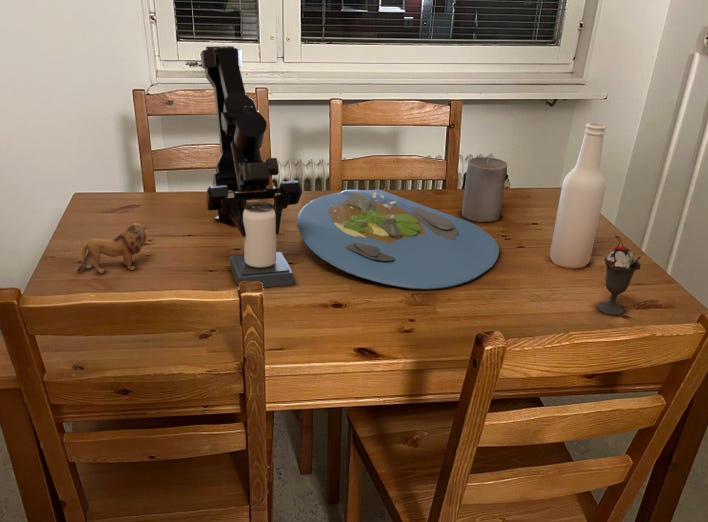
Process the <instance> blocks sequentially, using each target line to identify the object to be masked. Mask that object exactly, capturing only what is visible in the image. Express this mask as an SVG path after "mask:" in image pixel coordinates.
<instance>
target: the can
mask: <svg viewBox="0 0 708 522" xmlns="http://www.w3.org/2000/svg"><path fill="white" fill-rule="evenodd" d="M243 224H244V227H245V234H246V235H245V237H243V250H244V251H243V253H244V254H243V255H245V263H246V264H247V265H248V266H250V267H253V268H268V267H271V266H273V265H274V264H275V263H276V252H277V234H276V215H275V211H274V209H273V204H272V203H270V202H267V201H259V200H257V201H250V202H248V203H246V205H245V210H244V212H243Z"/></svg>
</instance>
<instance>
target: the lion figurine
mask: <svg viewBox="0 0 708 522" xmlns="http://www.w3.org/2000/svg"><path fill="white" fill-rule="evenodd" d="M146 241H147V232H146V229H145V225H143V224H141V223H137V222H134V223H131V224H129V225H127V228H126V230H124V231H123V232H121V233H120V234H119V235H117V237H115V238H112V239H103V238H91V239H89V240H87V242H85V244H84V246H83V248H82V255H81V263H80V266H79V267H78V268H77V269H76V272H80V271H82V269H83V268H85V269H91V268H92V265H91V264H89V262H90V261H91V260H93V267H94V268H95V270H96V271H97V273H99V274H104V273H105V272H106V271H105V269H104V268H100V265H99V263H100V259H101V254H102V255H104V256H106V257H110V258H119V257H122V258H123V264H124V265H125V266H126V267H127V268H128V270H129V271H135V270H136V266H133V255H136V254H139V253H140V252H141V250H142V248H143V247H144V245H145V244H146Z"/></svg>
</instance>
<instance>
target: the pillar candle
mask: <svg viewBox="0 0 708 522" xmlns="http://www.w3.org/2000/svg"><path fill="white" fill-rule="evenodd" d="M467 161H468V162H467V168H466V175H465V183H464V193H463V198H462V199H463V200H462V208H461V216H462V217H463V218H464V219H466V220H469V221H472V222H476V223H485V222H487V223H490V222H491V223H492V222H496V221H498V220H499V219H500V218H501V211H502V206H503V198H504V191H505V185H506V179H507V178H506V177H507V171H508V163H507V162H506V161H504V160H502V159H499V158H495V157H490V156H479V157H477V156H476V157H472V158H470V159H468V160H467Z"/></svg>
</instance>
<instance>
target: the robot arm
mask: <svg viewBox="0 0 708 522" xmlns="http://www.w3.org/2000/svg"><path fill="white" fill-rule="evenodd" d="M200 61H201V68H202V69H203V70H204V72H205V73H204V74H205V78H206V80H207V81H208V82H209V84H210V86H211V87H212V88H213V90H214V93H213V94H214V103H215V111H216V112H215V113H216V120H217V130H218V140H219V150H220V156H219V157H218V160H217V162H216V164H215V167H214V168H215V172H213V178H212V185H210V186H208V188H207V189H206V196H205V201H206V208H207V210H208V211H210V212H211V211H212V212H213V211H217V215H216V216H214V219H215V220H216V221H218V222H219V221H220V222H222V223H224V224H227V225H230V226H235V227H236V228H237V230H238V231H239V233H240V235H241V236H242V237H243V238H244V237H245V235H246V234H245V227H244V224H243V212H244V210H245V205H246V204H247V201H255V200H257V201H259V200H272V199H273V204H272V205H273V209H274V211H275V215H276V235H279V232H280V226H281V219H282V215H283V214H282V213H283V210H285V209H287V208H288V207H289V206H293V205H294V206H295V205H297V204H299V202H300V199H301V197H302V194H303V188H302V183H300V182H299V181H298V180H287V181H280V183H279V186H278V187H277V188H268V186H270V180H271V176H277V175H279V172H280V171H279V164H278V159H277V157H268V158H267V159H266V160H265V161H264V160H263V157H262V156H263V155H262V151H261V148H262V147H263V143H264V139H265V135H266V131H267V128H268V127H267V125H268V123H267V120H266V119H265V118H264V116H263V115H262V114H261V113H260V111H259V110H258V109H257V106H256V104H255V101H254V99H252V98H251V97H249V96H248V95H247V93H246V89H245V85H244V81H243V77H242V73H241V68H242V67H243V63H242V62H243V61H242V49H238V48H237V47H234V46H233V45H228V46H227V45H225V46H224V45H222V46H221V45H219V46H218V45H215V46H213V45H212V46H211V45H210V46H205V49H204V50H201V52H200Z"/></svg>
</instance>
